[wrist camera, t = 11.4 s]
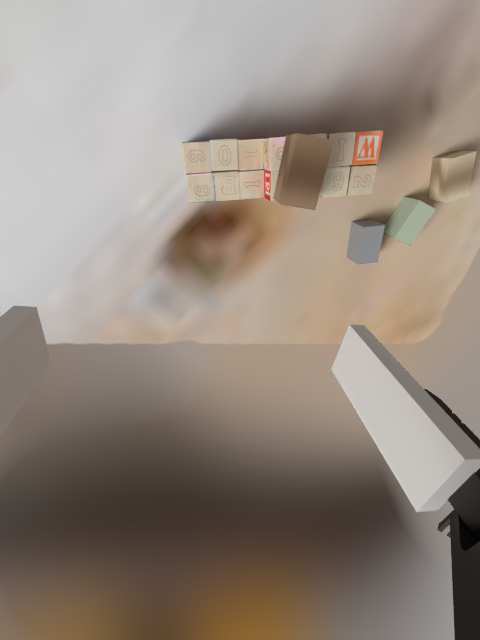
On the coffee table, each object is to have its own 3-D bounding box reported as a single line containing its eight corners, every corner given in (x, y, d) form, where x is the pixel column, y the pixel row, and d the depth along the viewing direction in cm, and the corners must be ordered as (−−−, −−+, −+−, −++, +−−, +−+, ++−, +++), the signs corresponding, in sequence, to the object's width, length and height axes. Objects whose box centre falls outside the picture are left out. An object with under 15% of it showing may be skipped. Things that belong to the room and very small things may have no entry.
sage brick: (403, 196, 45) (419, 200, 41) (418, 205, 46) (436, 209, 42) (380, 231, 47) (394, 237, 44) (395, 239, 48) (410, 245, 45)
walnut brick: (286, 135, 28) (298, 132, 24) (318, 141, 28) (334, 140, 25) (273, 198, 31) (282, 204, 27) (302, 203, 31) (315, 209, 28)
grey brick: (351, 221, 46) (363, 227, 42) (371, 219, 46) (385, 225, 43) (346, 256, 49) (357, 264, 46) (365, 254, 49) (377, 262, 46)
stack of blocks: (190, 192, 41) (187, 207, 30) (184, 142, 37) (178, 139, 27) (330, 184, 42) (373, 195, 32) (336, 135, 39) (386, 129, 29)
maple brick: (432, 157, 42) (452, 158, 39) (454, 151, 42) (476, 151, 39) (427, 198, 45) (446, 202, 42) (448, 192, 45) (468, 195, 42)
